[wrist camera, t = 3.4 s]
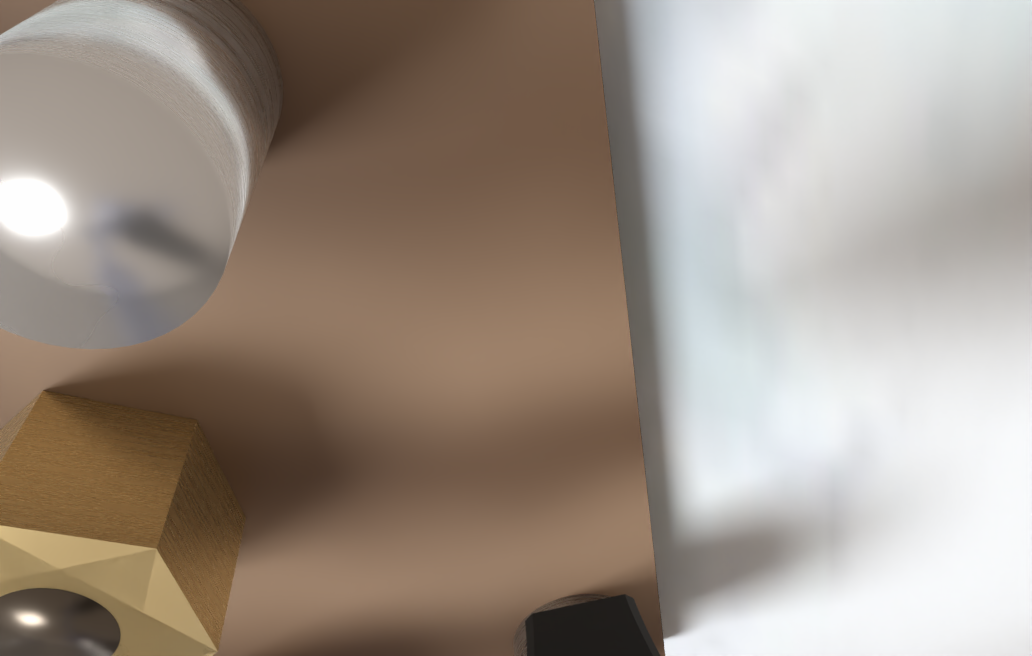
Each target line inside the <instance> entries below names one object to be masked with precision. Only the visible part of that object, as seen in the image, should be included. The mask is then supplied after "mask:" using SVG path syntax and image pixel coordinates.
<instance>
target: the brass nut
mask: <svg viewBox="0 0 1032 656" xmlns="http://www.w3.org/2000/svg"><path fill="white" fill-rule="evenodd" d="M245 520H246V517H245V515H244V513H243V511H242V509H241V507H240V505H239V503H238V501H237V499H236V497H235V495H234V493H233V491H232V489H231V487H230V485H229V483H228V481H227V479H226V477H225V475H224V473H223V471H222V469H221V467H220V465H219V463H218V461H217V459H216V457H215V455H214V453H213V451H212V449H211V447H210V445H209V443H208V441H207V439H206V437H205V435H204V433H203V431H202V429H201V427H200V424H199V422H198V420H194V419H189V418H184V417H178V416H173V415H168V414H163V413H158V412H153V411H147V410H142V409H137V408H132V407H127V406H122V405H117V404H111V403H106V402H101V401H96V400H91V399H86V398H80V397H75V396H70V395H65V394H60V393H55V392H50V391H44V390H43V391H42V392H41V393H40V394H39V395H38V396H36V397H35V398H34V399H33V400H32V401H31V402H30V403H29V404H28V405H27V406H26V407H24V408H23V409H22V410H21V411H20V412H19V413H18V414H17V415H16V416H15V417H14V418H13V419H11V420H10V421H9V422H8V423H7V424H6V425H5V426H4V427H3V428H2V429H1V430H0V656H213V655H214V654H215V653H217V652H218V649H219V644H220V640H221V635H222V630H223V625H224V620H225V616H226V611H227V606H228V601H229V596H230V592H231V587H232V582H233V577H234V572H235V568H236V563H237V558H238V553H239V548H240V544H241V539H242V534H243V529H244V524H245Z"/></svg>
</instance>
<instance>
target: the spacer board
mask: <svg viewBox="0 0 1032 656" xmlns="http://www.w3.org/2000/svg"><path fill="white" fill-rule="evenodd" d="M56 1H58V0H0V35H1V34H3V33H4V32H6V31H8V30H9V29H11V28H13V27H14V26H16V25H18V24H19V23H21V22H23V21H24V20H26V19H28V18H29V17H31V16H33V15H34V14H36V13H38V12H39V11H41V10H43V9H44V8H46V7H48V6H49V5H51V4H53V3H54V2H56ZM239 1H241V2H242V3H243V4H244V5H245V6H246V7H247V8H248V9H249V11H250V12H251V13H252V14H253V15H254V16H255V17H256V19H257V20H258V22H259V23H260V24H261V26H262V27H263V29H264V30H265V32H266V34H267V35H268V37H269V39H270V41H271V43H272V45H273V47H274V50H275V53H276V55H277V58H278V61H279V65H280V69H281V74H282V82H283V102H282V108H281V114H280V117H279V120H278V124H277V127H276V129H275V132H274V135H273V138H272V140H271V143H270V146H269V149H268V151H267V154H266V157H265V160H264V162H263V165H262V168H261V171H260V173H259V176H258V179H257V182H256V184H255V187H254V190H253V193H252V195H251V198H250V201H249V204H248V207H247V209H246V212H245V215H244V218H243V220H242V223H241V226H240V229H239V231H238V234H237V237H236V240H235V242H234V245H233V248H232V251H231V253H230V256H229V259H228V262H227V264H226V267H225V270H224V273H223V275H222V277H221V279H220V281H219V283H218V285H217V287H216V289H215V291H214V292H213V294H212V295H211V296H210V298H209V299H208V301H207V302H206V303H205V304H204V305H203V306H202V307H201V309H200V310H199V311H198V312H197V313H196V314H195V315H194V316H192V317H191V318H190V319H188V320H187V321H186V322H184V323H183V324H182V325H180V326H179V327H177V328H175V329H173V330H172V331H170V332H168V333H166V334H164V335H162V336H159V337H157V338H154V339H152V340H149V341H146V342H142V343H139V344H135V345H131V346H125V347H118V348H111V349H79V348H68V347H61V346H55V345H49V344H46V343H42V342H38V341H34V340H30V339H27V338H24V337H22V336H19V335H16V334H13V333H10V332H8V331H6V330H4V329H1V328H0V430H1V429H2V428H3V427H4V426H5V425H6V424H7V423H8V422H9V421H10V420H11V419H13V418H14V417H15V416H16V415H17V414H18V413H19V412H20V411H21V410H22V409H23V408H24V407H26V406H27V405H28V404H29V403H30V402H31V401H32V400H33V399H34V398H35V397H36V396H38V395H39V394H40V393H41V392H42V391H43V390H44V391H50V392H55V393H60V394H65V395H70V396H75V397H80V398H86V399H91V400H96V401H101V402H106V403H111V404H117V405H122V406H127V407H132V408H137V409H142V410H147V411H153V412H158V413H163V414H168V415H173V416H178V417H184V418H189V419H194V420H198V422H199V424H200V427H201V429H202V431H203V433H204V435H205V437H206V439H207V441H208V443H209V445H210V447H211V449H212V451H213V453H214V455H215V457H216V459H217V461H218V463H219V465H220V467H221V469H222V471H223V473H224V475H225V477H226V479H227V481H228V483H229V485H230V487H231V489H232V491H233V493H234V495H235V497H236V499H237V501H238V503H239V505H240V507H241V509H242V511H243V513H244V515H245V517H246V520H245V524H244V529H243V534H242V539H241V544H240V548H239V553H238V558H237V563H236V568H235V572H234V577H233V582H232V587H231V592H230V596H229V601H228V606H227V611H226V616H225V620H224V625H223V630H222V635H221V640H220V644H219V649H218V652H217V653H215V654H214V655H213V656H515V655H514V648H513V640H514V636H515V633H516V631H517V629H518V627H519V626H520V624H521V623H522V622H523V620H524V619H525V618H526V617H527V616H528V615H530V614H531V613H532V612H533V611H535V610H536V609H538V608H539V607H541V606H543V605H545V604H547V603H549V602H551V601H554V600H557V599H560V598H563V597H567V596H572V595H579V594H599V595H606V596H610V597H613V596H618V595H623V594H626V595H628V596H630V597H632V598H634V600H635V603H636V605H637V608H638V610H639V613H640V615H641V617H642V619H643V622H644V624H645V626H646V628H647V630H648V632H649V634H650V636H651V638H652V640H653V642H654V644H655V646H656V648H657V650H658V652H659V654H660V656H665V651H664V641H663V632H662V623H661V614H660V605H659V595H658V586H657V577H656V568H655V559H654V549H653V540H652V531H651V522H650V512H649V503H648V494H647V485H646V476H645V466H644V457H643V448H642V439H641V430H640V420H639V411H638V402H637V393H636V384H635V374H634V365H633V356H632V347H631V338H630V328H629V319H628V310H627V301H626V291H625V282H624V273H623V264H622V255H621V245H620V236H619V227H618V218H617V209H616V199H615V190H614V181H613V172H612V163H611V153H610V144H609V135H608V126H607V116H606V107H605V98H604V89H603V80H602V70H601V61H600V52H599V43H598V34H597V24H596V15H595V6H594V0H239Z"/></svg>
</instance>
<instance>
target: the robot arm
mask: <svg viewBox="0 0 1032 656" xmlns="http://www.w3.org/2000/svg"><path fill="white" fill-rule="evenodd" d="M525 628H526V643H527V656H660V654H659V652H658V650H657V648H656V646H655V644H654V642H653V640H652V638H651V636H650V634H649V632H648V630H647V628H646V626H645V624H644V622H643V619H642V617H641V615H640V613H639V610H638V608H637V605H636V603H635V600H634V598H632V597H630V596H628V595H626V594H623V595H618V596H613V597H609V598H604V599H599V600H594V601H589V602H585V603H580V604H575V605H570V606H566V607H561V608H556V609H551V610H547V611H542V612H537V613H532V614H531V615H530V616H529V617H528V618H527V619H526V620H525Z"/></svg>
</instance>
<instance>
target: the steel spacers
mask: <svg viewBox="0 0 1032 656" xmlns="http://www.w3.org/2000/svg"><path fill="white" fill-rule="evenodd" d="M282 102H283V82H282V74H281V69H280V65H279V61H278V58H277V55H276V53H275V50H274V47H273V45H272V43H271V41H270V39H269V37H268V35H267V34H266V32H265V30H264V29H263V27H262V26H261V24H260V23H259V22H258V20H257V19H256V17H255V16H254V15H253V14H252V13H251V12H250V11H249V9H248V8H247V7H246V6H245V5H244V4H243V3H242V2H241V1H239V0H58V1H56V2H54V3H53V4H51V5H49V6H48V7H46V8H44V9H43V10H41V11H39V12H38V13H36V14H34V15H33V16H31V17H29V18H28V19H26V20H24V21H23V22H21V23H19V24H18V25H16V26H14V27H13V28H11V29H9V30H8V31H6V32H4V33H3V34H1V35H0V328H1V329H4V330H6V331H8V332H10V333H13V334H16V335H19V336H22V337H24V338H27V339H30V340H34V341H38V342H42V343H46V344H49V345H55V346H61V347H68V348H79V349H111V348H118V347H125V346H131V345H135V344H139V343H142V342H146V341H149V340H152V339H154V338H157V337H159V336H162V335H164V334H166V333H168V332H170V331H172V330H173V329H175V328H177V327H179V326H180V325H182V324H183V323H184V322H186V321H187V320H188V319H190V318H191V317H192V316H194V315H195V314H196V313H197V312H198V311H199V310H200V309H201V307H202V306H203V305H204V304H205V303H206V302H207V301H208V299H209V298H210V296H211V295H212V294H213V292H214V291H215V289H216V287H217V285H218V283H219V281H220V279H221V277H222V275H223V273H224V270H225V267H226V264H227V262H228V259H229V256H230V253H231V251H232V248H233V245H234V242H235V240H236V237H237V234H238V231H239V229H240V226H241V223H242V220H243V218H244V215H245V212H246V209H247V207H248V204H249V201H250V198H251V195H252V193H253V190H254V187H255V184H256V182H257V179H258V176H259V173H260V171H261V168H262V165H263V162H264V160H265V157H266V154H267V151H268V149H269V146H270V143H271V140H272V138H273V135H274V132H275V129H276V127H277V124H278V120H279V117H280V114H281V108H282ZM609 597H610V596H606V595H599V594H579V595H572V596H567V597H563V598H560V599H557V600H554V601H551V602H549V603H547V604H545V605H543V606H541V607H539V608H538V609H536V610H535V611H533V612H532V613H537V612H542V611H547V610H551V609H556V608H561V607H566V606H570V605H575V604H580V603H585V602H589V601H594V600H599V599H604V598H609ZM532 613H531V614H532ZM531 614H530V615H531ZM530 615H528V616H527V617H526V618H525V619H524V620H523V622H522V623H521V624H520V626H519V627H518V629H517V631H516V633H515V636H514V640H513V648H514V655H515V656H527V643H526V628H525V620H526V619H527V618H528V617H529V616H530Z"/></svg>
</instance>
